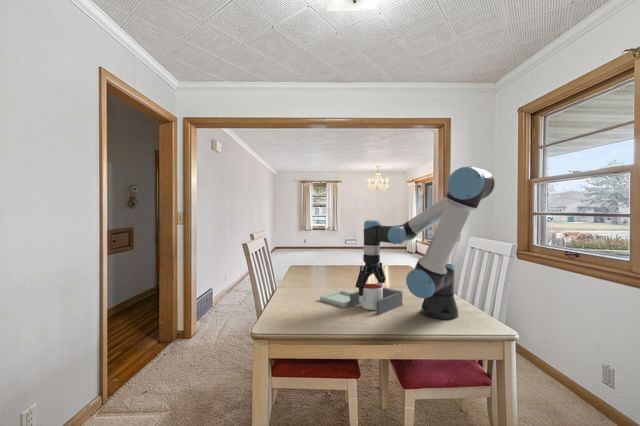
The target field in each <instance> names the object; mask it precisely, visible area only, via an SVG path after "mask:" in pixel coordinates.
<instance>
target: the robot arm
mask: <svg viewBox="0 0 640 426" xmlns="http://www.w3.org/2000/svg"><path fill="white" fill-rule="evenodd" d="M495 182H496V181H495V178H494V176H493V175H492V174H491V172H489V171H488V170H486V169H483V168H477V167H476V166H475V167H474V166H461V167H459V168H457V169H455V170H454V171H453V172H451V174H450V175H449V177H448V179H447V183H446V184H447V185H446V187H447V192H446V194H445V196H444V197H442V198H441V199H439V200H437V202H435V203H433V204H432V205H430V206H428V207H427V208H425V210H423V211H422V212H421V211H420V213H418V214H417V215H415V216H414V217H412V218H411V219H409V220H407V221H406V222H404V223H403V224H398V225H382V224H381V221H380V220H377V219H376V220H365V221H364V222H363V231H362V232H363V257H362V259H363V260H362V261H363V263H364V264H365V265H360V267H359V268H360V269H359V273H358V276H357V279H356V283H355V288H358V291H359V302H361V303H365V288H364V286H365V284H367V282H368V280H369V277H371V276H372V275H374V276H375V279H376V280H377V282H376V284H378V285H381V286H383V287H384V284H385V283H386V276H385V272H384V268H383V263H382V262H380V261H381V260H380V259H381V255H380V254H381V243H386V244H387V243H388V244H393V245H401V244H403V243H404V242H407V241H411V240H414V239H416V237H417V235H420V234H421V233H422V232H424V231H426V230H428V229H429V228H431V227H433V226H435V225H436V224H437V227H436V229H435V230H434V233H433V235H432V237H431V239H430V240H431V241H430V242H429V243H428V247H427V249H426V251H425V253H424V256H423V257H420V258H418V260H417V262H416V264H415V266H414V269H412V270H410V271H409V272H408V273H407V275H406V278H405V283H406V286H407V290H408V291H409V292H410V293H411V294H412V295H413V296H414V297H416V298H420V299H423V301H422V303H421V307H420V308H421V310H420V311H421V313H422V314H423V315H424V316H426V317H430V318H433V319H439V320H440V319H441V320H452V319H455V318H457V317H459V308H458V305H457V303H456V302H457V301H456V300H455V272H456V271H455V265H454V263H453V262H450V261H449V259H450V257H451V254H452V252H453V251H454V248H455V246H456V245H457V242H458V240H459V237H460V235H461V233H462V231H463V229H464V227H465V224H466V222H467V219H468V218H469V216H470V213H471V212H472V211H474V210H477V209H478V207H479V205H480V203H481V200H483V199H485V198H487V197H489V196H490V195H491V194H492V192H493V191H494V189H495Z"/></svg>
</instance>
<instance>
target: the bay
mask: <svg viewBox="0 0 640 426" xmlns="http://www.w3.org/2000/svg"><path fill="white" fill-rule="evenodd" d="M359 305H361V302H359V290H358V291H355V292H351V294H350V306H349V308H353V307H354V308H355V307H356V306H359ZM402 305H403V290H402V289H401V290H399V289H396V288H392V287H386V286H383V299H380V300H377V310H376V315H377V316H378V315H382V314H384V313H387V312H390V311H392V310H394V309H397V308H399V307H402Z"/></svg>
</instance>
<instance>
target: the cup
mask: <svg viewBox="0 0 640 426" xmlns="http://www.w3.org/2000/svg"><path fill="white" fill-rule="evenodd" d="M383 287H384V285H383V286H381V285H378V284H377V283H366V284H365V286H364V288H365V303H361V304H360V306H361V307H362V308H363V309H364V310H367V311H377V300H380V299H383Z"/></svg>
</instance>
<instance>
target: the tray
mask: <svg viewBox="0 0 640 426" xmlns="http://www.w3.org/2000/svg"><path fill="white" fill-rule="evenodd" d="M351 293H352V292H351V291H350V292H349V291H346V290H342V289H341V290H337V291H334V292H330V293H327V294H324V295H320V296H319V301H320V302H324V303H328V304H330V305H334V306H336V307H337V306H338V307H340V308H344V309H345V308H347V307H350V294H351Z"/></svg>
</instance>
